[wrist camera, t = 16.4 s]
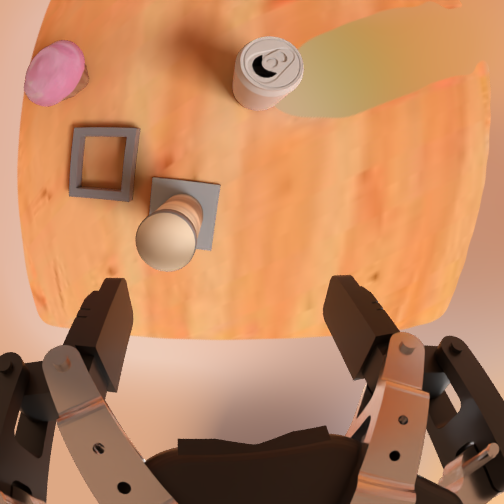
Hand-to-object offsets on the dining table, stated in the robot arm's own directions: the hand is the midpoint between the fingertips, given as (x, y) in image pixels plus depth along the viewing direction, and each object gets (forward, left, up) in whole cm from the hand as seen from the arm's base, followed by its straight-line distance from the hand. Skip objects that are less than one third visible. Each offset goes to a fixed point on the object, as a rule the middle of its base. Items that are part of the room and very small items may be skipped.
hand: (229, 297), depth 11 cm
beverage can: (-14, +2, -27) cm, 31 cm away
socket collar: (-2, -17, -27) cm, 32 cm away
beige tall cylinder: (+4, -5, -27) cm, 27 cm away
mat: (+4, -5, -27) cm, 28 cm away
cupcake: (-14, -24, -27) cm, 39 cm away
